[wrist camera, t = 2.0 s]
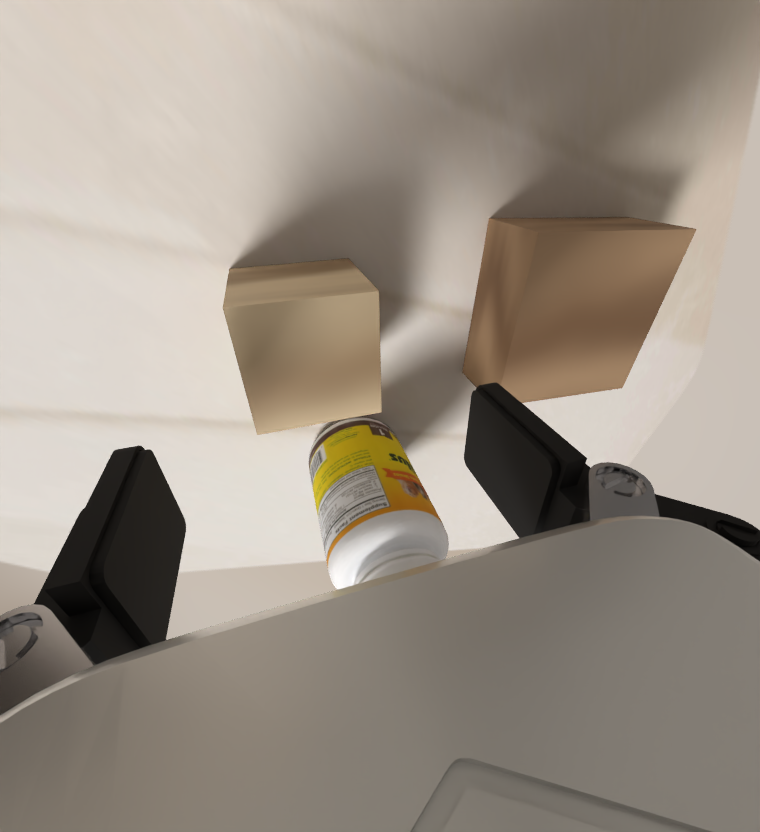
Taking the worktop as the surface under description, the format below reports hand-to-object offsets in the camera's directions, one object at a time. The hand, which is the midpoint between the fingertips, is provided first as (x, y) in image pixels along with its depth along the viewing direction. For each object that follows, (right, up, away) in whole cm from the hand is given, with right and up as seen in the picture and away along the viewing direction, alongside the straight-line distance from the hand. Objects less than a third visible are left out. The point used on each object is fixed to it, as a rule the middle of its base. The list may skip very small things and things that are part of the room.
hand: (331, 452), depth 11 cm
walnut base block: (+10, +8, +9) cm, 16 cm away
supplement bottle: (0, -1, +12) cm, 12 cm away
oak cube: (-2, +6, +6) cm, 9 cm away
